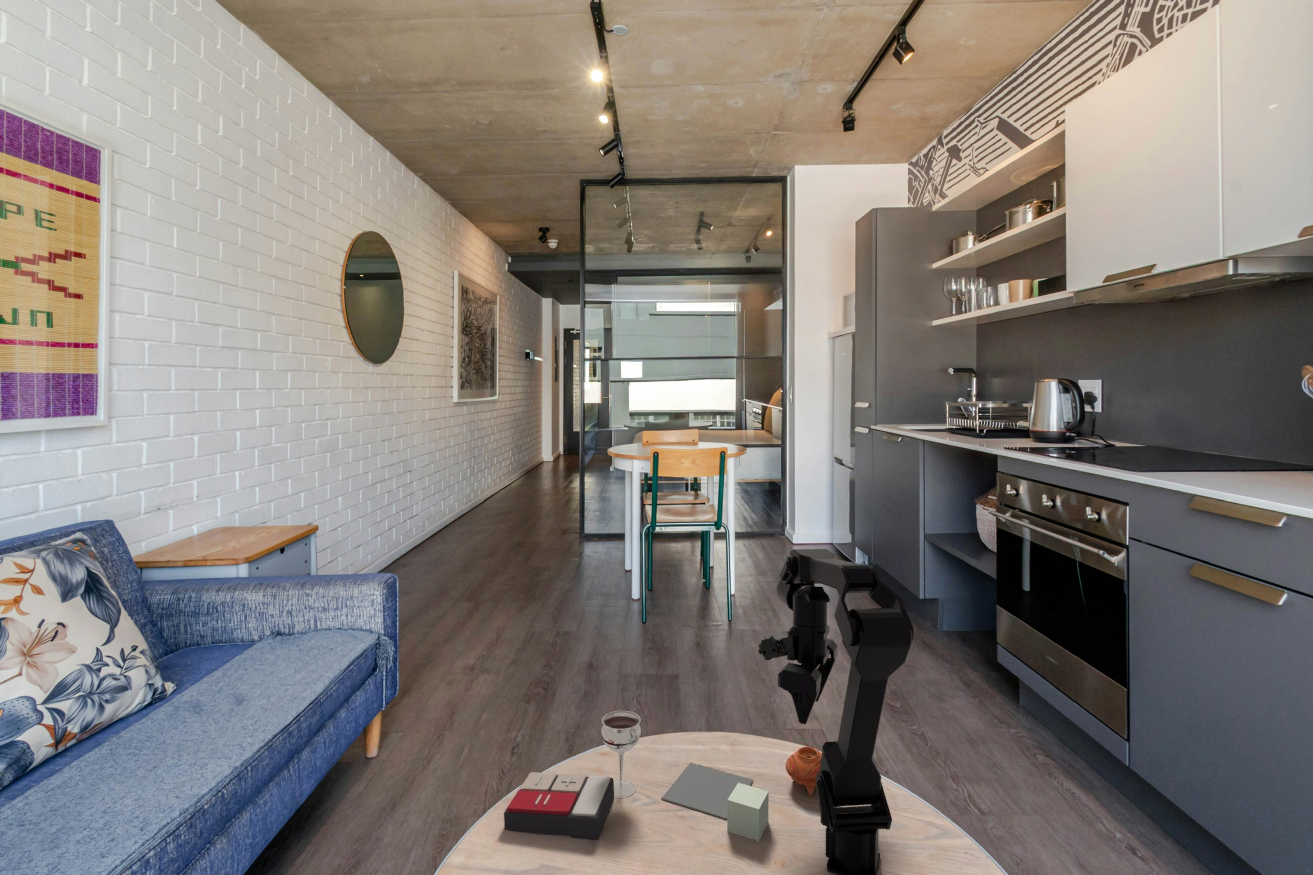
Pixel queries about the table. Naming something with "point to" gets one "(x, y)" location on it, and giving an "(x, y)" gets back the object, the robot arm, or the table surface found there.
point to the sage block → (747, 811)
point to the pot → (804, 767)
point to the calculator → (561, 805)
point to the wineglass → (621, 742)
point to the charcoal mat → (704, 789)
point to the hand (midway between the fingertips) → (809, 711)
